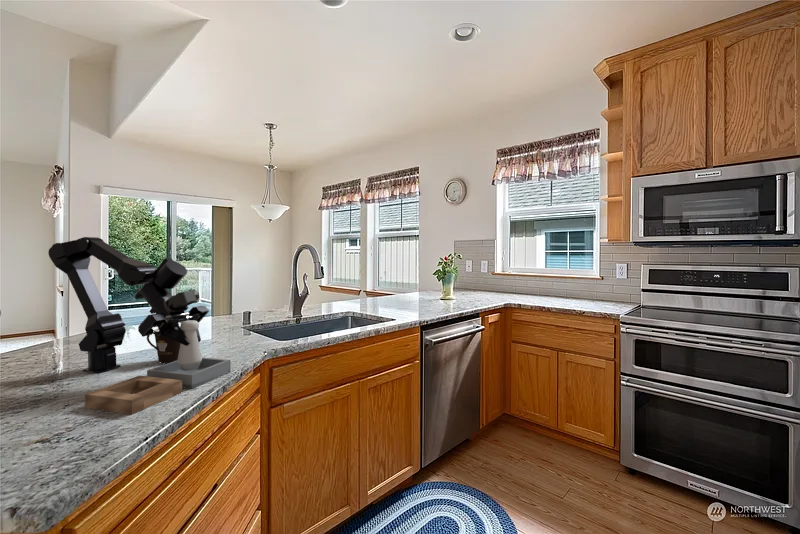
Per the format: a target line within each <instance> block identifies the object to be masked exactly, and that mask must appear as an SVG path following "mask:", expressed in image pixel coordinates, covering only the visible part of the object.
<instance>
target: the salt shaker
mask: <svg viewBox="0 0 800 534" xmlns="http://www.w3.org/2000/svg"><path fill="white" fill-rule="evenodd" d="M180 326H181V330H183V333H184V334H185V336H186V337H187V339H188V341H189V342H190V344H189V345H188V346H185V345H183V344H181V345H180V350H179V355H178V360H177V361H178V364H179V366H180V368H181V370H184V371H190V370H195V369H198V367H199V365H200V363H201V361H202V357H203V356H202V352H201V348H200V347H201V346H200V342H198V338H197V333H196V330H197V329H198V330H199V328H200V322H199V323H198V322H197V321H195V320H188V321H184V322H182V323H180Z"/></svg>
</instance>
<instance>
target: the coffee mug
mask: <svg viewBox="0 0 800 534" xmlns="http://www.w3.org/2000/svg"><path fill="white" fill-rule="evenodd" d="M179 327H180V329H181V325H179ZM153 330H154V332H153V334H152V335H154V339H155V345H154V344H153V343H152V341H151V340H150V336H151V335H148V336H146V341H147V343H148V344H149V345H150V346H151V347H153V349H155V350H156V352H157V358H158V363H159V362H161V363H160V364H163V363H167V364H168V363H171V362H174V361H177V360H178V355H179V350H180V345H181V343H179V342H176V341H174V340H172V339H169V338H166V337H164V336H161V335H159V336H158V335H157V333H158V332H159V329H158V328H155V329H153Z"/></svg>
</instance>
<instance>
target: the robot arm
mask: <svg viewBox="0 0 800 534" xmlns="http://www.w3.org/2000/svg"><path fill="white" fill-rule="evenodd" d="M47 253H48V257H49V259H50V260H51V262H52V263H53V265H54V266H55V268H57V269H58V270H60V271H61V272H63V273H65V274H66V276H67V277H68V279H69V281H70V283H71V286H72V288H73V289H74V293H75V295H76V296H77V299H78V300H79V304H81V307H82V310H83V311H84V313H85V316H86V318H87V321H86V324H85V327H84V330H85V332H86V333H85V334H86V335H85V336H84V337H83V338H82V339H81V340H80V342H79V343H78V346H79V350H80V352H85V353H86V352H87V364H88V365H87V366H88V367H86V368H83V369H82V372H89V373H95V374H101V373H104V372H107V371H108V372H109V371H111V370H113V369H114V370H115V369H118V368H120V367H122V365H121V364H118V363H117V352H116V347H117V346H122V344H123V341H124V339H125V334H126V333H127V331H126V327H125V326H126V323H125V322H124V320H123V319H122V316H121V314H120V313H117V312H116V313H112V312H110V310H109V309H108V307H107V304H106V303H105V301H104V299H103V297H102V294H101V292H100V291H99V289H98V286H97V284H96V282H95V280H94V278H93V275H92V274H91V272H90V270H89V266H90V262H91V257H94V258H96V259H97V260H98V261H100V262H102V263H103V264H105V265H106V266H108V267H110V268H112V269H113V270H115V271H116V272H117V276H118V278H119V279H120V280H121V281H123V283H124V284H126V285H127V286H131V287H132V286H142V287H141V288H138V289H136V293H135V295H134V299H135V300H141V299H144V300H145V301H146V303H147V304H148V305H149V306H150V307H151V309H150V310H149V312H150V313H149V314H148V315H147V316H146V317H145V318H144V319H143V320H142V322H140V324H139V325H138V329H137V330H138V332H139V334H140V335H141V337H142V338H143V337H147V336H148V335H150V336H152V335H154V334H153V332H154V330H155V329H154V328H157V329H159V332H158V333H157V335H158V336H159V335H161V336H164V337H166V338H169V339H172V340H174V341H176V342H179V343H181V344H183V345H185V346H188V345H189V344H190V342H189V341H188V339H187V337H186V336H185V334H184V333H183V330H181V329H180V327H179V326H180V325H179V323H180V324H181V323H182V322H184V321H188V320H195V321H197V322H198V323H199V324H200V322H201V321H202V320H203V319H204V318H205V316H207V314H208V313H209V312H210V310H209V309H208V308H207V307H206V305H198V306H192V307H191V309H190V310H188V309H189V306H190V305H192V304H195V303H198V300H199V299H200V293H199V292H198V291H197V290H196V289H194V288H192V289H189V290H188V291H182V292H179V293H177V294H174V295H172V294H171V292H170V291H169V289H170V290H173V289H174V288H176V286H177V285H178V284H179V283H180V282H181V281H182V279H184V277H186V275H187V274H188V269H187V268H186V267H185V265H183V264H181V263H180V262H178V261H175V260H173V259H172V258H171V257H165V258H163V260H161V263H160V264H159V266H157V268H156V267H155V266H154V265H153V264H150V263H148V262H145V261H142V260H138V259H134V258H131V257H130V256H128V255H126V254H125V253H123V252H121V251H119V250H118V249H117V248H115V247H113V246H112V245H110V244H108V243H106V242H105V241H104V239H103V238H101V237H98V236H97V237H96V236H95V237H92V236H83V237H80V238H77V239H75V240H69V241H65V242H55V243H54V244H52V245H51V247H49V248H48V252H47ZM187 310H188V312H186V311H187ZM196 333H197V338H198V342H199V343H200V342H201V341H202V338H201V334H200V331H199V328H198V329H197V330H196Z"/></svg>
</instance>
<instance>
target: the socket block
mask: <svg viewBox="0 0 800 534" xmlns="http://www.w3.org/2000/svg"><path fill="white" fill-rule="evenodd" d="M181 392H182V393H183V388H182V380H175V379H167V378H158V377H149V376H147V375H137V376H135V377H134V376H133V377H131V378H129V379H126V380H122V381H119V382H117V383H114V384H111V385H110V384H109V385H107V386H104V387H102V388H98V389H95V390H93V391H90V392H87V393H85V394H84V408H86V409H92V410H100V411H105V412H106V411H107V412H113V413H119V414H127V415H134V414H136V413H138V412H142V411H143V410H144V411H145V409H147V408H150V407H152V406H155V405H156V404H159V403H162V402H163V401H166V400H168V398H169V399H171V398H173V397H175V396H178V395H180V394H182V393H181ZM179 393H180V394H179ZM177 394H178V395H177ZM172 396H173V397H172ZM170 397H171V398H170Z"/></svg>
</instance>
